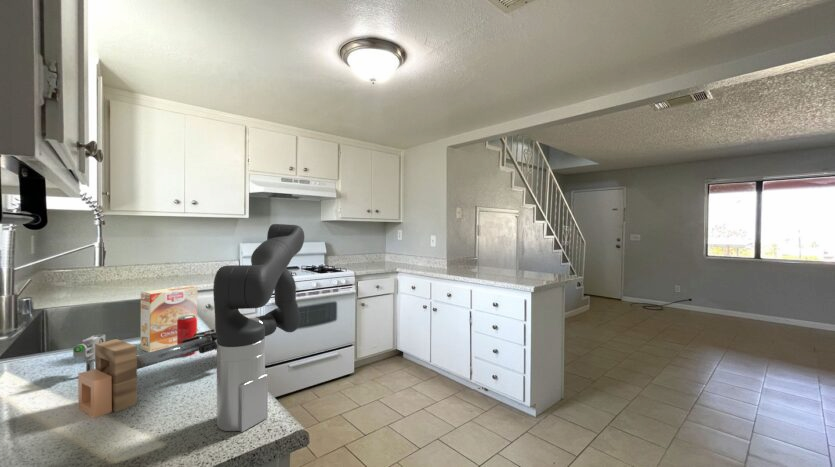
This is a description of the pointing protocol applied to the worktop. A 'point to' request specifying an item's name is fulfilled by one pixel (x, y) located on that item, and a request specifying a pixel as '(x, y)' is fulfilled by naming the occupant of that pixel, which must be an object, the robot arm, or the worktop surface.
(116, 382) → the bearing block
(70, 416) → the worktop surface
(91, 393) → the orange block with hole
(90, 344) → the mechanical component
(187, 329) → the beverage can
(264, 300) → the robot arm
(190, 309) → the coffeecake box
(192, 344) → the shaft
